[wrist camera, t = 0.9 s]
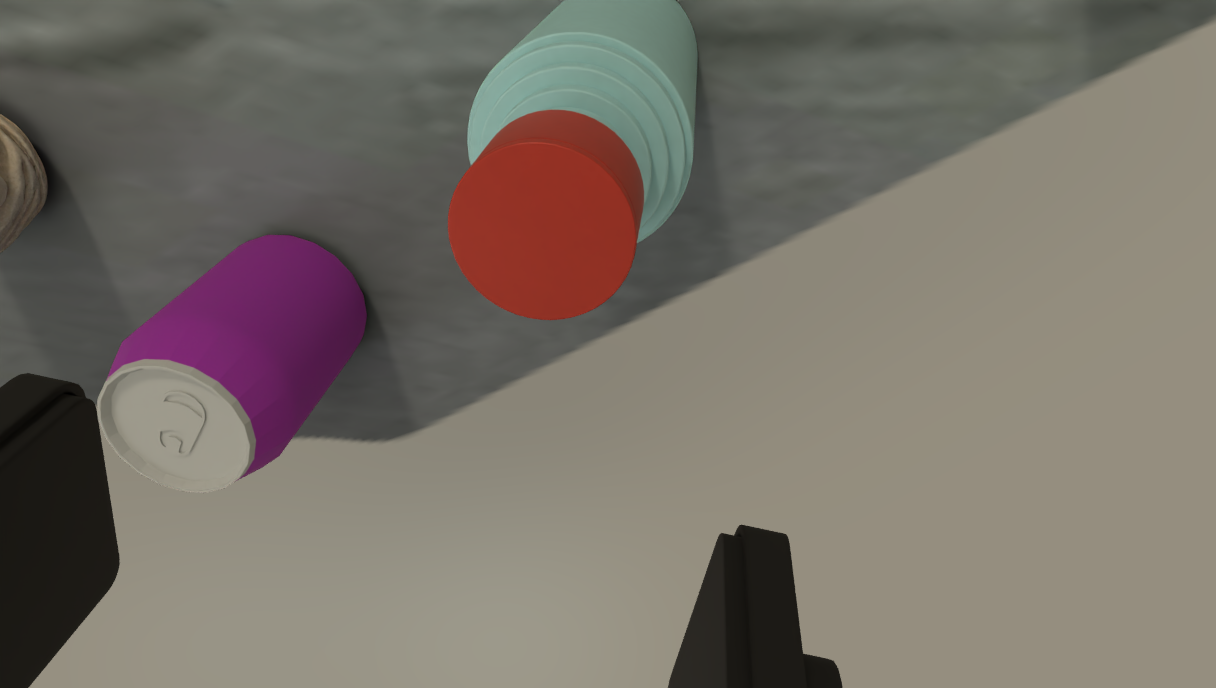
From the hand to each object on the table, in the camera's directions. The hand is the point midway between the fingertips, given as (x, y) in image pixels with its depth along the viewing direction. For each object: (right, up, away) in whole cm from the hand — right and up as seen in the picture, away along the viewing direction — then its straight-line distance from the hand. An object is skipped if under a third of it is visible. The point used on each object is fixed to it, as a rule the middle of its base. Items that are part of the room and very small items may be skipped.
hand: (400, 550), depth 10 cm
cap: (+1, +6, +11) cm, 13 cm away
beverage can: (-13, +5, +33) cm, 36 cm away
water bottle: (+3, +15, +26) cm, 30 cm away
